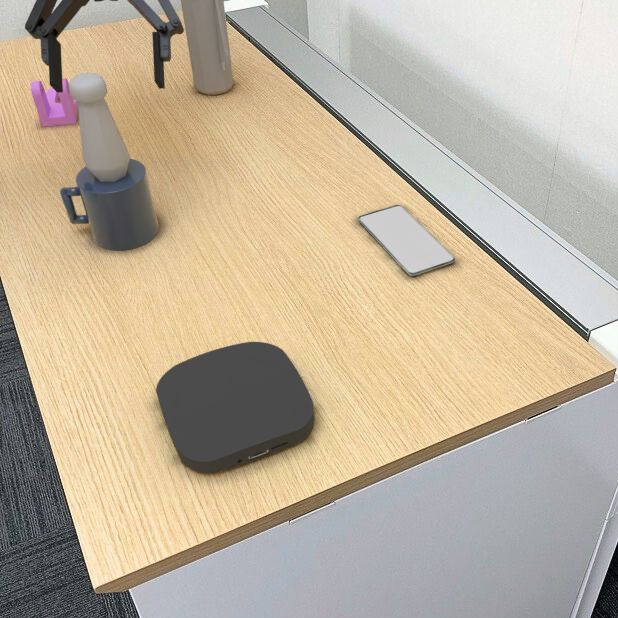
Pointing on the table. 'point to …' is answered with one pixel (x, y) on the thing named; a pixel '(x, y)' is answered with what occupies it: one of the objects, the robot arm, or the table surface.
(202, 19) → the water bottle
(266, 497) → the table surface
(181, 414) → the media streaming box
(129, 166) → the mug
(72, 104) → the bracket
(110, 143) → the salt shaker
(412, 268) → the smartphone
